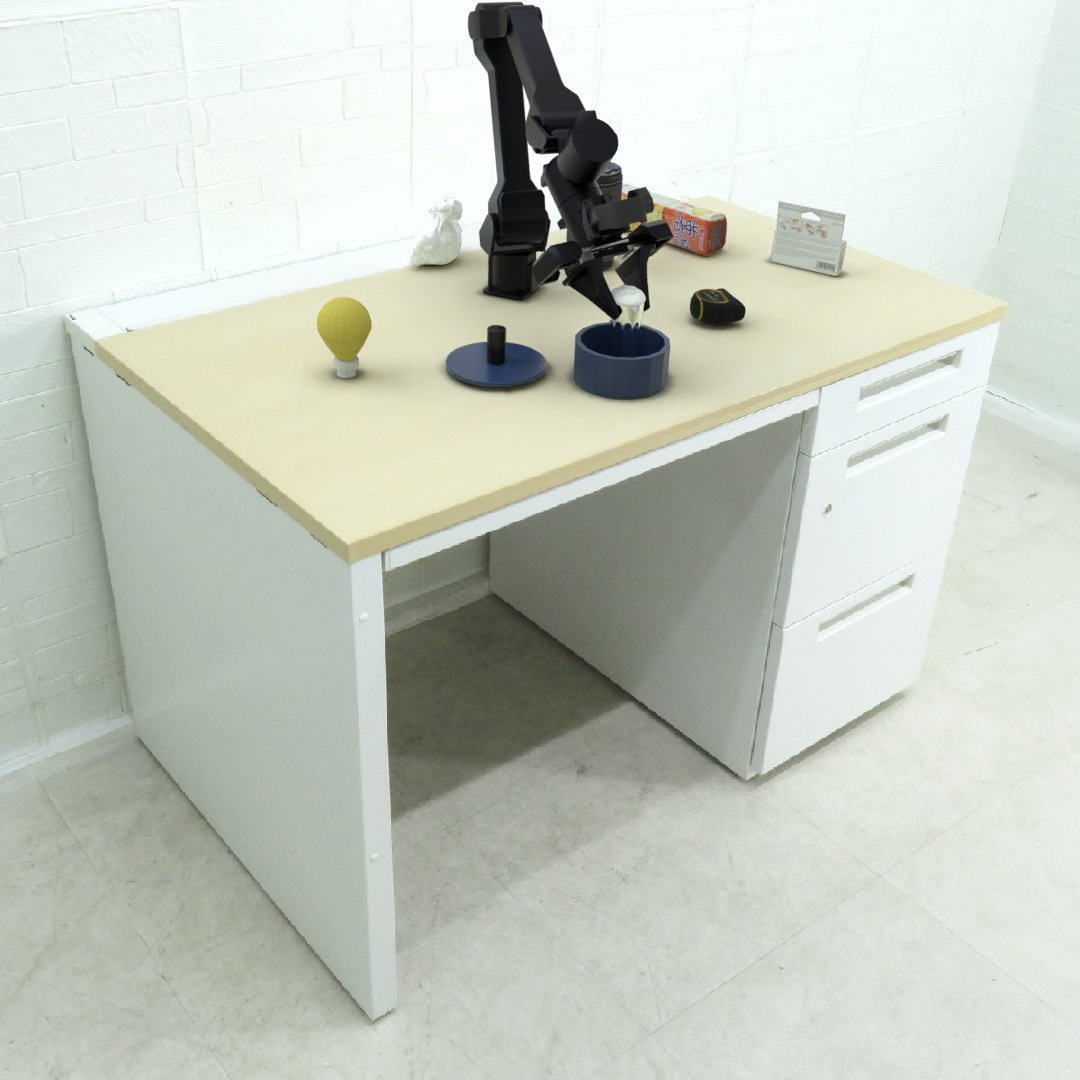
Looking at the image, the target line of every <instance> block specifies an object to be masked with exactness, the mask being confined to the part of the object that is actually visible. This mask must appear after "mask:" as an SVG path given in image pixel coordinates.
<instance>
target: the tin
mask: <svg viewBox="0 0 1080 1080" xmlns="http://www.w3.org/2000/svg"><path fill="white" fill-rule="evenodd" d="M573 354H574V355H573V370H572V371H573V373H572V374H573V375H572V376H573V381H574V383H575V384H576V385H577V387H579V389H582V390H583V391H585V392H587V393H589V394H592V395H595V396H598V397H602V398H608V399H615V400H636V399H643V398H648V397H651V396H655V395H657V394H659V393H660V392H661V391H663V390H664V389H665V387H666V386H667V383H668V375H669V365H670V354H671V341H670V338H669V337H668V336H667V335H666V334H665V333H664V332H662V331H661V330H659V329H656V328H654V327H651V326H650V325H645V324H641V328H640V335H639V342H638V348H637V355H636V357H634V358H627V357H612V356H610V321H607V322H599V323H598V322H597V323H593V324H591V325H588V326H585V327H583V328H581V329H580V330H578V332H577V333H575V337H574V353H573Z"/></svg>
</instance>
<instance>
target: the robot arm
mask: <svg viewBox="0 0 1080 1080" xmlns="http://www.w3.org/2000/svg"><path fill="white" fill-rule="evenodd" d="M543 21H544V20H543V12H542V10H541V7H539V6H536V5H534V4H524V3H523V2H522V1H494V2H477V4H476V5H475V9H474V10H473V11H470V12H469V13H468V17H467V30H468V36H469V38H470V40H472V47H473V53H474V56H475V57H476V59H477V60H478V61H479V63H480V64H481V66H482V67H483V68H484V70H485V72H486V73H487V80H488V81H487V82H488V90H489V102H490V112H491V113H490V114H491V122H492V123H491V126H492V135H493V137H492V138H493V146H494V147H493V148H494V158H495V169H496V171H495V172H496V184H495V186H494V188H493V190H492V192H491V195H490V197H489V198H488V200H487V201H488V202H487V214H486V216H485V218H484V220H483V223H482V225H481V226H480V228H479V231H478V237H479V246H480V248H481V250H483V252H485V253H486V254H487V285H486V286H485V287H483V288H482V293H484V294H488V295H493V296H498V297H502V298H508V299H513V300H517V301H524V300H526V299H527V298H528V297H530V295H532V294H533V293H534V292H536V291H537V290H538V289H539V288H541V286H545V285H550V284H553V283H557V282H558V281H559V278H560V275H561V270H563V271H564V275H565V276H566V278H564V280H562V281H561V284H562V286H563V287H570V288H572V289H573V290H574V291H576V292H577V293H578V294H580V295H581V296H583V297H584V298H586V299H587V300H588V301H590V302H591V303H592V304H593V305H595V306H596V307H597V308H598V309H600V310H601V311H602V312H603V313H604V314H606V315H607V316H608V317H609V319H610V318H612V319H613V320H616V319H617V318H619V317H620V314H619V311H618V308H617V305H616V302H615V300H614V298H613V296H612V293H611V291H612V290H611V289H610V287H609V285H608V282H607V280H606V278H605V275H604V270H603V259H606V258H610V257H614V256H615V257H616V258H617V260H618V262H619V265H618V266H617V267H616V268H614V271H615V273H616V275H618V278H619V279H620V280H621V282H622V283H623V285H628V286H634V287H636V288H638V289H640V290H641V291H642V292H643V293H644V295H645V297H646V300H645V306H644V311H643V312H647V311H648V310H649V309H650V308H651V302H650V291H649V282H648V280H649V279H648V262H649V259H650V258H651V257H653V256H654V255H655V254H656V253H658V252H659V251H660V250H661V249H662V248H664V246H665V245H666V244H669V243H668V242H669V241H670V240H671V239H672V238H673V237H674V236H673V234H672V231H671V229H670V227H669V225H668V223H667V222H665V221H662V220H657V221H652V222H648V223H644V222H647V216H646V214H648V213H652V212H653V211H654V203H653V199H652V197H651V195H650V193H649V191H650V190H648V188H647V186H643V187H639V188H638V189H635V190H630V191H628V196H627V199H623V200H619V201H615V200H614V198H613V196H612V195H610V193H608V194H603V195H602V192H601V190H600V188H599V186H598V184H597V182H596V180H598V178H599V177H600V176H601V175H602V173H603V172H604V170H605V169H606V167H607V166H608V164H609V163H610V162H612V160H613V158H614V157H615V155H616V154H617V152H618V149H619V137H618V134H617V133H616V132H615V130H614V128H612V126H611V125H610V124H608V123H607V122H605V121H604V120H602V119H600V118H598V116H597V111H596V110H595V109H590V110H586V107H585V105H584V104H583V101H582V100H581V98H580V96H579V95H578V94H577V93H576V92H574V91H573V90H572V89H570V88H568V87H567V86H566V85H565V84H564V81H563V79H562V77H561V73H560V71H559V67H558V66H557V63H556V60H555V57H554V54H553V52H552V48H551V47H550V44H549V41H548V38H547V35H546V32H545V30H544V27H543V25H544V22H543ZM524 93H525V94H524ZM525 95H526V98H527V102H528V105H529V108H528V112H527V116H526V108H525V107H526V106H525ZM529 146H530V147H531V149H532V151H533V152H534V153H535V154H536V155H555V156H554V157H553V158H551V159H550V161H549V162H548V163H545V164H543V165H542V173H541V176H540V179H539V180H540V187H541V188H546V187H547V189H548V191H549V193H550V195H551V197H552V199H553V201H554V205H555V206H556V208H557V210H558V213H559V215H560V217H561V218H560V219H559V220H557V222H556V224H557V226H558V228H559V230H560V231H561V230H566V231H567V230H568V232H569V234H570V237H571V239H572V241H568V242H566V241H563V242H560V243H555V244H552V245H550V246H548V247H547V245H548V240H549V235H550V229H551V223H552V221H551V218H550V216H549V213H548V210H546V195H545V192H544V191H543V190H542V189H539V188H538V186H537V185H536V184H535V182H534V181H533V180H532V178H531V167H530V157H529V156H530V155H529ZM637 222H640V223H644V224H640V225H639V226H638V227H637V228H636V229H635V230H634V231H633V232H632V231H631V232H630V231H629V230H630V229H631V227H630V224H632V223H637ZM628 232H630V233H629V234H628V235H627V236H626V237H625V236H624V237H622V236H623V234H626V233H628ZM612 247H613V249H611V248H612ZM609 249H611V250H609ZM539 252H540V253H541V254H540V255H539V257H537V253H539ZM615 257H614V258H615Z"/></svg>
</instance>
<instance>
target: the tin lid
mask: <svg viewBox="0 0 1080 1080" xmlns="http://www.w3.org/2000/svg"><path fill="white" fill-rule="evenodd" d="M445 367H446V370H447V372H448V373H449V374H450V375H451V376H452V377H453V378H455V379H457V380H459V381H462V382H464V383H466V384H470V385H474V386H480V387H487V388H509V387H516V386H521V385H526V384H529V383H532V382H534V381H536V380H538V379H540V378H541V377H542V376H543V375H545V373H546V371H547V359H546V357H545V356H544V354H542V353H541V352H539V350H536V349H534V348H532V347H530V346H527V345H524V344H520V343H515V342H508V341H507V327H506V326H504V325H501V324H492V325H488V327H486V341H478V342H473V343H467V344H464V345H461V346H460V347H456V348H455V349H453V350H452V351H451V352H449V354H448V355H447V356H446V358H445Z"/></svg>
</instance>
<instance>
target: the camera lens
mask: <svg viewBox="0 0 1080 1080" xmlns="http://www.w3.org/2000/svg"><path fill="white" fill-rule="evenodd" d="M623 181H624V174H623V170H622V167H621V166H620V165H619V164H618V163H615V162H612V161H610V163H609V164H608V166H607V167H606V169H605V170H604V172H603V173H602V175H601V176H600V177H599V178H598V180H596V182H597V184H598V186H599V188H600V190H601V192H602V195H603V194H608V193H610V195H612V196H613V198H614V200H615V201H619V200H621V197H622V184H623ZM565 235H566V238H565V242H568V241H572V239H571V237H570V234H569V232H568V230H567V229H566V234H565ZM611 249H613V247H612V248H611ZM611 249H609V250H611ZM615 257H616V256H614V257H610V258H606V259H603V271H605V270H608V269H611V267H612V266H613V265H614V258H615Z"/></svg>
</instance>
